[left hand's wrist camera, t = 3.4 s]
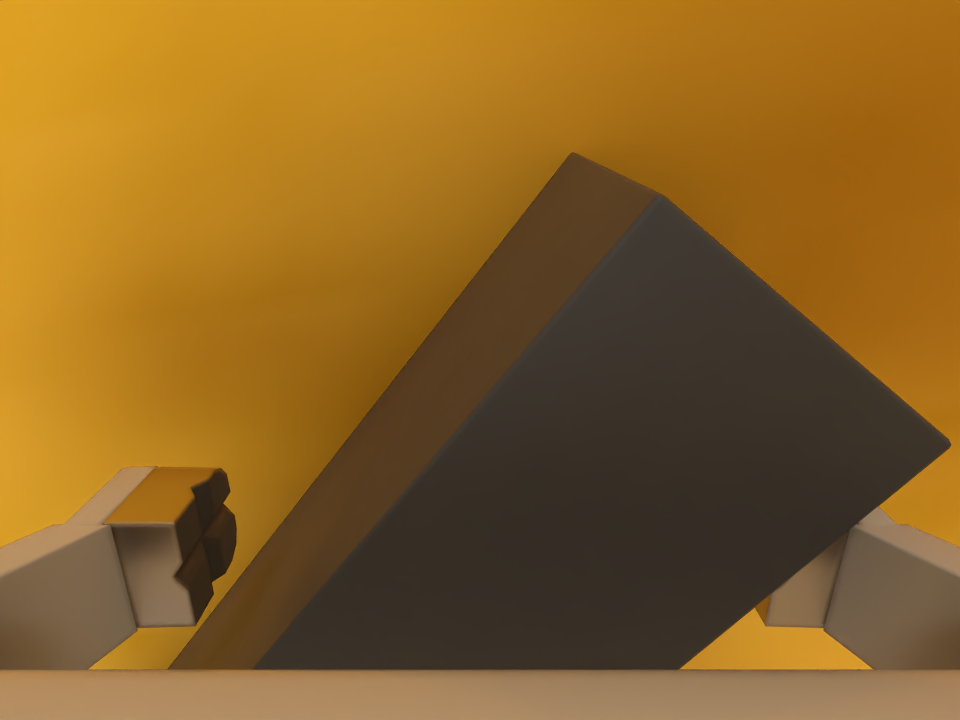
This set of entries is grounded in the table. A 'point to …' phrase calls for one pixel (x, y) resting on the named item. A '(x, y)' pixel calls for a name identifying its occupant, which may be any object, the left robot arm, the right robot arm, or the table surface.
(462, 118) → the table surface
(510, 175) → the table surface
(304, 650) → the bar
